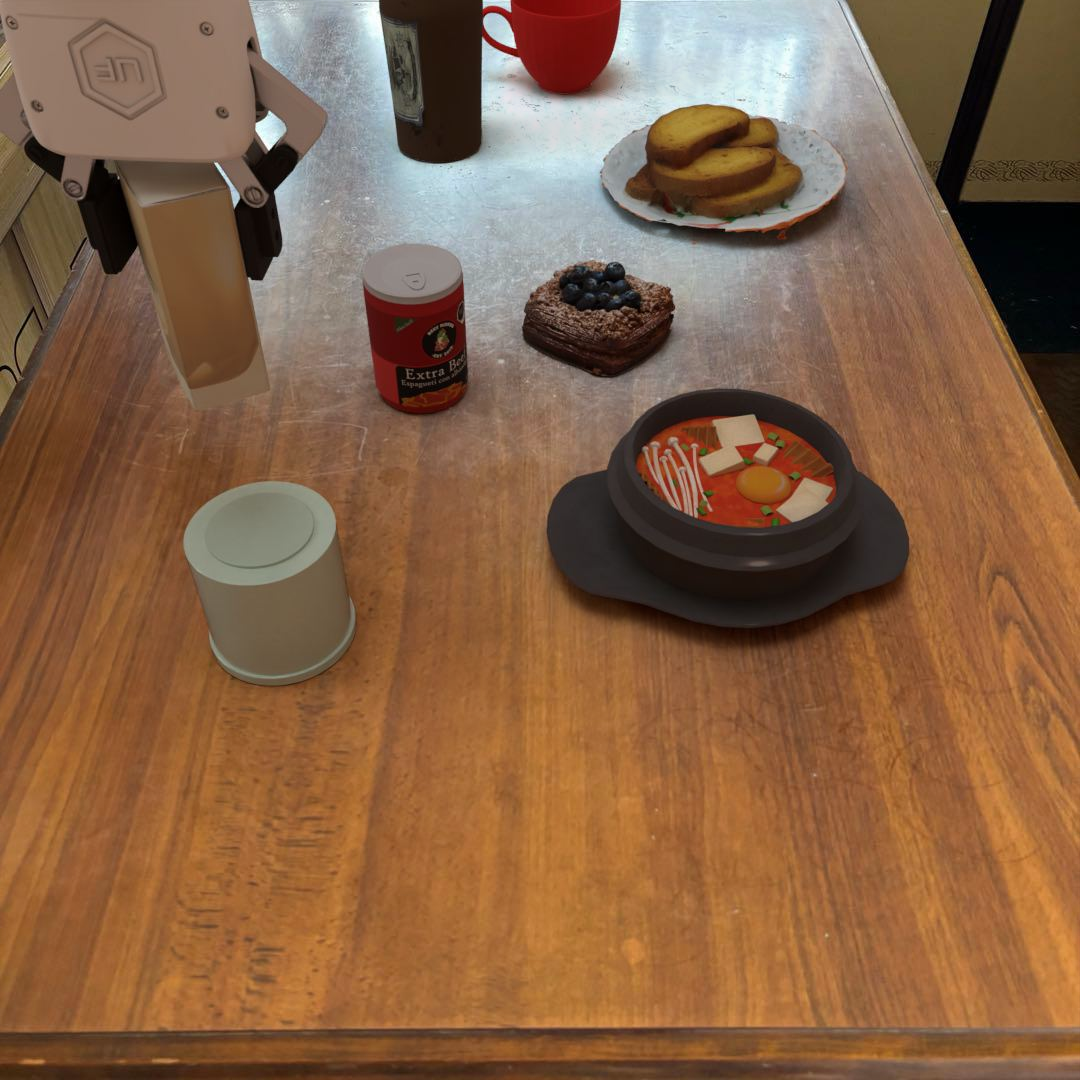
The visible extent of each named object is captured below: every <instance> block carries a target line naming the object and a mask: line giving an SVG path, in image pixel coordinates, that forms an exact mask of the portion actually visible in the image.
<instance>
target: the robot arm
mask: <svg viewBox="0 0 1080 1080" xmlns="http://www.w3.org/2000/svg"><path fill="white" fill-rule="evenodd" d="M251 7H252V6H251V4H250V0H0V19H1V24H2V29H3V33H4V34H3V35H4V38H5V43H6V47H7V51H8V55H9V60H10V64H11V67H12V71H13V73H12V74H11V75H10V76H9V78H8V79H7V80H6V81H5V82H4V84H3V85H2V86H1V88H0V133H1V134H3V136H5V137H6V138H7V139H8V140H10V141H11V142H12V143H13V144H14V145H16V146H17V147H21V148H22V149H23V150H24V153H25V155H26V157H27V158H28V159H29V161H31V162H32V163H34V165H36V166H37V167H39V168H40V169H41V170H43V171H44V172H46V174H48V175H50V177H52V179H54V180H56V181H57V182H58V183H59V184H60V189H61V192H62V193H63V194H64V195H65V196H66V197H67V198H68V199H70V200H72V201H76V203H77V206H78V209H79V212H80V216H81V219H82V222H83V226H84V229H85V232H86V235H87V238H88V242H89V244H90V247H91V248H92V250H94V251H97V253H98V258H99V261H100V264H101V267H102V270H103V273H104V274H105V275H115V276H116V275H118V274H119V273H122V272H123V270H124V269H125V267H126V265H127V264H128V262H129V261H130V259H131V258H132V256H133V255H134V254H135V252H136V250H137V248H138V244H137V241H136V237H135V233H134V230H133V226H132V222H131V219H130V215H129V211H128V208H127V204H126V201H125V197H124V194H123V190H122V186H121V183H120V179H119V176H118V172H109V170H108V169H107V166H108V161H111V160H112V161H114V160H129V161H156V162H186V163H215V164H218V165H219V167H220V168H221V169H222V171H223V173H224V174H225V176H226V177H227V179H228V180H229V182H230V183H231V185H232V186H233V187H234V189H235V191H236V192H237V193H238V196H239V199H238V201H237V203H236V205H235V206H234V210H235V219H236V224H237V229H238V234H239V240H240V245H241V250H242V255H243V260H244V265H245V270H246V275H247V277H248V278H250V281H258V282H259V281H260V282H263V281H264V279H265V277H266V274H267V273H268V271H269V269H270V266H271V265H272V262H273V260H274V258H279V257H280V255H281V252H282V250H283V234H282V233H283V232H282V228H281V222H280V217H279V216H280V215H279V211H278V205H277V200H276V194H275V191H276V190H277V189H278V188H279V187H280V186H281V185H282V184H283V182H285V180H286V179H287V178H288V177H289V176H290V175H291V174H292V173H293V172H294V170H295V169H296V168H297V166H298V164H299V163H300V162H301V161H302V159H303V158H304V157H305V156H306V155H307V154H308V152H309V151H310V150H311V149H312V147H313V146H314V145H315V143H316V142H317V141H318V140H319V138H320V137H321V136H322V135H323V132H324V130H325V128H326V126H327V124H328V122H329V115H328V113H327V111H326V109H324V108H323V107H322V106H321V105H319V104H318V103H317V102H316V101H315V100H313V98H311V97H310V96H309V95H308V94H307V93H305V92H304V91H303V90H302V89H300V87H298V86H297V85H295V83H293V82H292V81H291V80H289V79H288V78H287V77H286V76H285V75H284V74H282V73H281V72H280V71H279V70H278V69H276V68H275V67H274V66H273V65H271V64H270V63H269V62H268V61H266V59H264V58H263V54H262V49H261V45H260V40H259V36H258V32H257V31H258V30H257V28H256V24H255V20H254V15H253V12H252V8H251ZM269 112H271V113H272V115H274V116H275V117H276V118H278V119H279V120H280V121H281V122H282V123H283V124H284V126H285V128H286V130H285V132H284V133H283V134H282V136H280V137H279V139H277V141H276V142H275V143H274V144H273V145H272V147H270V148H269V149H268V148H267V146H266V144H265V143H264V141H263V139H262V138H261V137H260V135H259V134H258V132H257V131H256V128H257V124H258V123H259V122H262V121H263V120H264V119H266V118H267V117H268V116H269Z"/></svg>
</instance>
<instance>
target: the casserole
mask: <svg viewBox="0 0 1080 1080" xmlns="http://www.w3.org/2000/svg"><path fill="white" fill-rule="evenodd" d="M546 519H547V521H546V539H547V541H548V545H549V550H550V554H551V556H552V557H553V559H554V561H555V563H556V565H557V567H558V569H559V570H560V571H561V573H562V574H563V575H564V576H565V577H566V578H567V580H569V581H570V583H571V584H572V585H574V586H576V587H577V588H580V589H581V590H583V591H585V592H586V593H588V594H589V595H596V596H599V597H605V598H611V599H614V600H615V599H616V600H620V601H626V602H631V603H636V604H641V605H643V606H648V607H650V608H653V609H656V610H659V611H662V612H664V613H667V614H670V615H674V616H676V617H679V618H682V619H685V620H689V621H691V622H694V623H699V624H703V625H709V626H715V627H722V628H741V629H742V628H743V629H756V628H763V627H772V626H782V625H784V624H787V623H791V622H794V621H797V620H801V619H805V618H808V617H810V616H811V615H813V614H814V613H817V612H818V611H821V610H822V609H824V608H826V607H829V606H830V605H833V604H834V603H836V602H837V601H839V600H842V599H843V598H845V597H848V596H850V595H853V594H857V593H861V592H865V591H868V590H871V589H874V588H877V587H880V586H883V585H885V584H888V583H891V582H893V581H895V580H896V578H897V577H899V576H900V575H901V574H902V573H903V572H904V571H905V569H906V567H907V563H908V561H909V558H910V536H909V534H908V530H907V527H906V523H905V519H904V517H903V516H902V514H901V512H900V510H899V509H898V507H897V505H896V504H895V502H894V501H893V500H892V498H890V496H889V495H888V494H887V493H886V492H885V490H883V488H882V487H881V486H879V485H878V483H876V482H874V481H873V480H872V479H871V478H870V477H868V476H867V475H866V474H864V473H863V472H862V471H859V470H858V469H857V467H856V465H855V464H854V461H853V457H852V452H851V451H850V449H849V447H848V445H847V444H846V442H845V440H844V438H843V437H842V436H841V435H840V434H839V433H838V431H837V430H835V428H834V427H833V426H832V425H831V424H830V423H828V421H826V420H824V419H823V418H822V417H820V415H818V414H817V413H815V412H813V411H811V410H810V409H808V408H806V407H805V406H803V405H801V404H798V403H796V402H793V401H791V400H788V399H786V398H783V397H781V396H777V395H773V394H771V393H770V394H769V393H767V392H762V391H757V390H748V389H743V388H742V389H741V388H719V387H717V388H709V389H698V390H694V391H689V392H685V393H680V394H677V395H675V396H672V397H670V398H666V399H665V400H662V401H659V402H658V403H657V404H655V405H654V406H652V407H650V408H649V409H647V410H646V411H644V412H643V414H641V415H640V416H639V417H638V418H637V419H635V421H634V423H633V425H632V426H631V428H630V429H629V430H628V431H627V432H626V433H625V434H624V435H623V436H622V437H621V438H620V439H619V441H618V443H617V444H616V445H615V447H614V448H613V450H612V452H611V454H610V458H609V461H608V464H607V467H606V469H602V470H599V471H594V472H590V473H586V474H582V475H578V476H576V477H574V478H572V479H571V480H569V481H567V482H566V483H565V484H563V485H562V486H561V488H560V489H559V490H558V491H557V493H556V494H555V496H554V497H553V498H552V502H551V504H550V507H549V510H548V513H547V518H546Z"/></svg>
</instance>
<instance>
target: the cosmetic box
mask: <svg viewBox="0 0 1080 1080" xmlns="http://www.w3.org/2000/svg"><path fill="white" fill-rule="evenodd" d="M113 163H114V165H115V168H116V173H117V177H118V179H120V183H121V186H122V190H123V194H124V197H125V201H126V204H127V208H128V211H129V215H130V219H131V222H132V226H133V230H134V233H135V237H136V241H137V244H138V246H137V248H138V251H139V255H140V259H141V262H142V266H143V269H144V273H145V276H146V280H147V285H148V288H149V291H150V294H151V299H152V302H153V306H154V309H155V312H156V317H157V320H158V325H159V329H160V333H161V336H162V340H163V344H164V346H165V350H166V354H167V357H168V359H169V361H170V364H171V367H172V369H173V371H174V373H175V376H176V378H177V379H178V382H179V384H180V386H181V388H182V390H183V392H184V393H185V395H186V397H187V399H188V401H189V402H190V404H191V407H192V408H193V410H194V411H195V412H201V411H205V410H209V409H212V408H216V407H219V406H222V405H226V404H230V403H234V402H237V401H241V400H244V399H249V398H251V397H254V396H258V395H262V394H266V393H268V392H270V390H271V385H270V381H269V375H268V371H267V365H266V361H265V360H266V359H265V356H264V351H263V346H262V340H261V336H260V331H259V326H258V325H259V324H258V321H257V315H256V310H255V306H254V300H253V297H252V290H251V285H250V281H249V277H247V275H246V270H245V265H244V260H243V255H242V250H241V245H240V240H239V234H238V229H237V224H236V219H235V210H234V209H235V206H234V201H233V197H232V192H231V187H230V185H229V183H228V182H227V180H226V179H225V177H224V176H223V175H222V173H221V171H220V170H219V168H218V166H217V164H216V163H186V162H156V161H129V160H113Z"/></svg>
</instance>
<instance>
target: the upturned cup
mask: <svg viewBox="0 0 1080 1080" xmlns="http://www.w3.org/2000/svg"><path fill="white" fill-rule="evenodd" d="M182 542H183V543H182V544H183V546H182V547H183V552H184V555H185V558H186V561H187V565H188V567H189V571H190V574H191V577H192V580H193V584H194V586H195V589H196V594H197V596H198V600H199V603H200V606H201V609H202V612H203V615H204V619H205V622H206V624H207V625H206V626H207V628H208V639H209V644H210V648H211V652H212V654H213V656H214V658H215V660H216V662H217V663H218V665H219V666H220V667H221V668H222V669H223V670H224V671H225V672H227V673H228V674H229V675H231V676H232V677H234V678H236V679H237V680H240V681H243V682H245V683H248V684H253V685H258V686H265V687H266V686H268V687H272V686H273V687H277V686H287V685H292V684H297V683H300V682H304V681H306V680H309V679H312V678H314V677H317V676H318V675H320V674H322V673H324V672H326V671H327V670H328V669H329V668H331V667H332V666H334V665H335V664H336V663H337V662H338V661H339V660H340V659H341V658H342V657H343V656H344V655H345V654H346V652H347V651H348V649H349V648H350V646H351V644H352V642H353V641H354V637H355V635H356V629H357V615H356V609H355V604H354V602H353V599H352V597H351V596H350V593H349V586H348V581H347V575H346V570H345V563H344V559H343V553H342V545H341V541H340V536H339V530H338V524H337V518H336V515H335V512H334V509H333V507H332V506H331V504H330V503H329V501H327V499H326V498H325V497H324V496H322V495H321V494H320V493H319V492H318V491H315V490H314V489H312V488H309V487H307V486H305V485H301V484H299V483H294V482H289V481H282V480H281V481H280V480H268V481H256V482H250V483H247V484H243V485H239V486H236V487H233V488H231V489H228V490H225V491H223V492H221V493H219V494H218V495H216V496H215V497H213V498H211V499H210V500H208V501H207V502H205V503H204V504H203V505H202V506H201V507H199V509H198V510H197V511H196V512H195V513H194V515H193V516H192V517H191V519H190V520H189V521H188V524H187V526H186V528H185V531H184V534H183V540H182Z"/></svg>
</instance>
